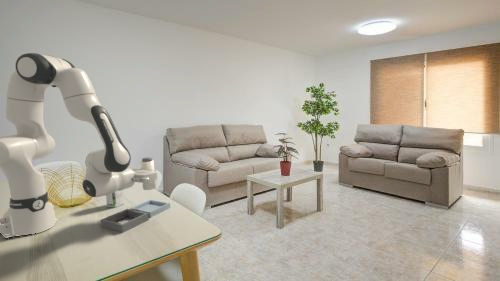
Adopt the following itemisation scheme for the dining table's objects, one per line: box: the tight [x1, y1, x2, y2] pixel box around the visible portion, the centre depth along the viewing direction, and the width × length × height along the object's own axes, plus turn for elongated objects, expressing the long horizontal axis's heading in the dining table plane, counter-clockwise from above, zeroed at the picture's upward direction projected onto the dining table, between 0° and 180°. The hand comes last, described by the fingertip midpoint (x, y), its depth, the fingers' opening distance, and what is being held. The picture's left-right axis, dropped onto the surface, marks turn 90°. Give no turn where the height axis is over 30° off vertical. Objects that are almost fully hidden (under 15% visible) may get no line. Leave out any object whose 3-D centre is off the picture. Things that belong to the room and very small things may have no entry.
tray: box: [129, 199, 171, 218], centre depth 128 cm, size 13×13×2 cm
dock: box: [100, 208, 150, 234], centre depth 114 cm, size 13×13×3 cm
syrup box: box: [105, 190, 125, 208], centre depth 135 cm, size 6×6×14 cm
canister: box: [140, 157, 157, 191], centre depth 126 cm, size 6×6×14 cm
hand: (149, 171), depth 127 cm, fingers closed on canister, 6 cm apart
